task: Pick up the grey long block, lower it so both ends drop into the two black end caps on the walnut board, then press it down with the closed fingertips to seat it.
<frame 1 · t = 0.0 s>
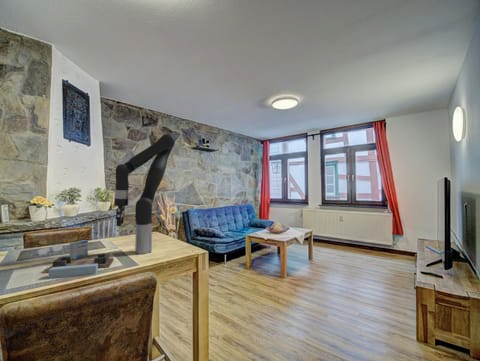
hand: (119, 224, 137), 17 cm above the table, tool pointing down, fingers open, 8 cm apart
grey long block: (74, 275, 105), on the table
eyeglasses: (54, 254, 136), on the table
medicine box: (78, 257, 130), on the table
endcap board: (82, 266, 115), on the table
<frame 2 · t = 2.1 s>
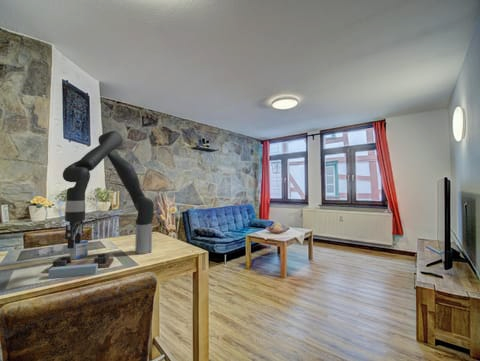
hand: (74, 245, 105), 13 cm above the table, tool pointing down, fingers open, 8 cm apart
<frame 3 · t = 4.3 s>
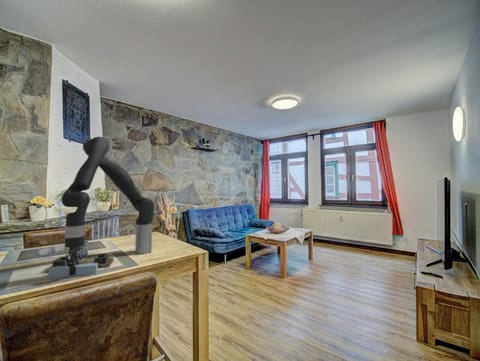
hand: (74, 272, 104), 1 cm above the table, tool pointing down, fingers closed on grey long block, 3 cm apart
grey long block: (74, 274, 104), on the table, touching gripper
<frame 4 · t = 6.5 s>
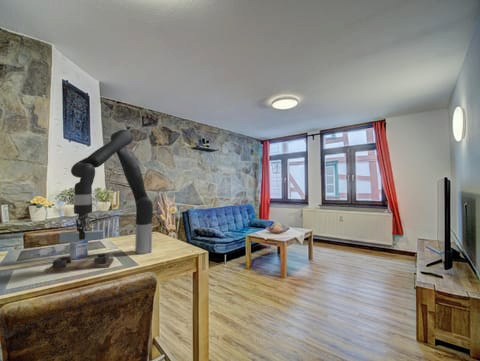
hand: (83, 238, 113), 15 cm above the table, tool pointing down, fingers closed on grey long block, 3 cm apart
grey long block: (83, 240, 113), point 14 cm above the table, touching gripper
when the fingers open (4 cm above the table, at t = 8.8 s): grey long block drops 1 cm, resting on endcap board.
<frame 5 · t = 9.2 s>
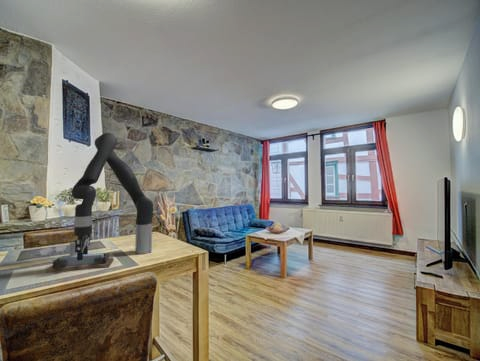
hand: (82, 257, 115), 4 cm above the table, tool pointing down, fingers open, 7 cm apart
grey long block: (82, 263, 115), point 1 cm above the table, touching endcap board
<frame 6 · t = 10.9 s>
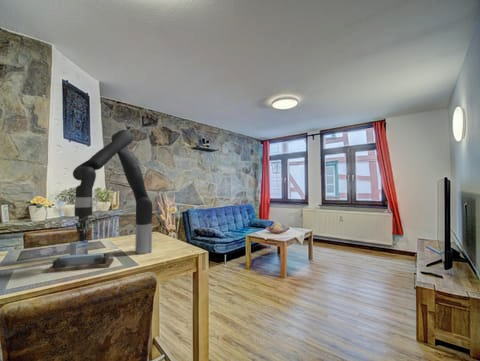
hand: (83, 240, 115), 13 cm above the table, tool pointing down, fingers closed
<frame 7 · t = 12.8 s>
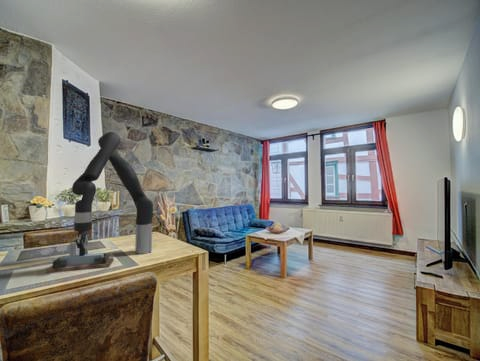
hand: (82, 255, 115), 5 cm above the table, tool pointing down, fingers closed
grey long block: (82, 263, 115), point 1 cm above the table, touching endcap board, gripper
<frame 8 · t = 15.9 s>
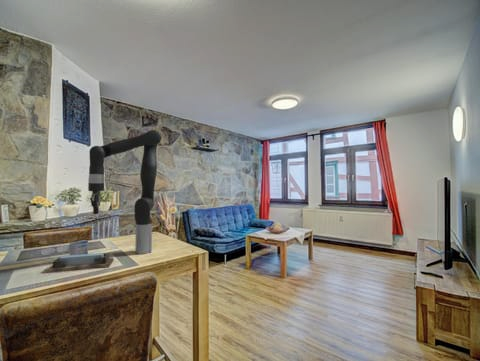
hand: (95, 213, 126), 25 cm above the table, tool pointing down, fingers closed
grey long block: (82, 263, 115), point 1 cm above the table, touching endcap board
at the end: grey long block 0.1 cm off-centre on the endcap board, point 1.5 cm above the endcap board's base; grey long block tilted 0°; the gripper is holding nothing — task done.
